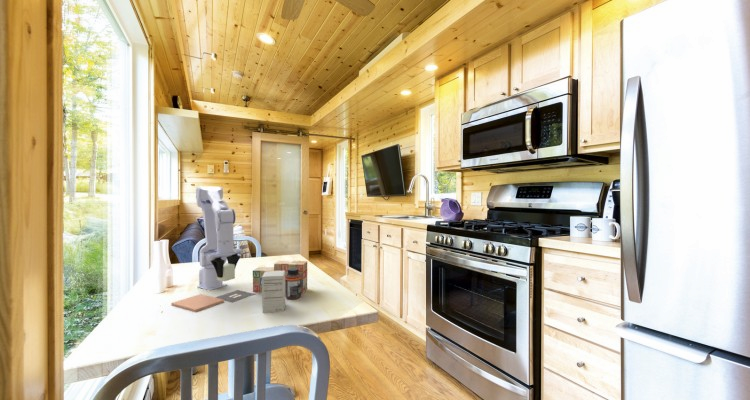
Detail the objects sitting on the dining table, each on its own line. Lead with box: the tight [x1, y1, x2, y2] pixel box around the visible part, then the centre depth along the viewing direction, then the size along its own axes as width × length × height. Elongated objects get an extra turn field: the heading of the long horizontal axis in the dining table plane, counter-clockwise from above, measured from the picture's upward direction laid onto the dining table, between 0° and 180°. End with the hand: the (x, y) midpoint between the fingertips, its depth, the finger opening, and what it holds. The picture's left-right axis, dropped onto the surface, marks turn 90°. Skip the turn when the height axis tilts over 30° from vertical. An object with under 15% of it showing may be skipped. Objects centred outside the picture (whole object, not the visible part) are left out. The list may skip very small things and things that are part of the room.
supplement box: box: [261, 271, 287, 313], centre depth 111 cm, size 7×7×13 cm
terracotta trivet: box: [171, 293, 225, 313], centre depth 115 cm, size 14×11×1 cm
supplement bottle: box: [285, 268, 302, 300], centre depth 122 cm, size 6×6×11 cm
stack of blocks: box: [252, 260, 308, 295], centre depth 130 cm, size 21×6×12 cm, turn 85°
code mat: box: [214, 289, 256, 304], centre depth 123 cm, size 11×11×1 cm
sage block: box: [217, 262, 236, 282], centre depth 121 cm, size 4×4×6 cm
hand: (225, 275), depth 121 cm, fingers closed on sage block, 4 cm apart
